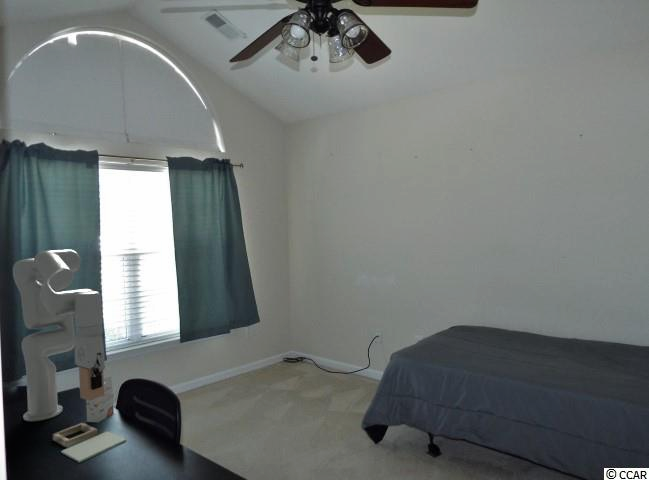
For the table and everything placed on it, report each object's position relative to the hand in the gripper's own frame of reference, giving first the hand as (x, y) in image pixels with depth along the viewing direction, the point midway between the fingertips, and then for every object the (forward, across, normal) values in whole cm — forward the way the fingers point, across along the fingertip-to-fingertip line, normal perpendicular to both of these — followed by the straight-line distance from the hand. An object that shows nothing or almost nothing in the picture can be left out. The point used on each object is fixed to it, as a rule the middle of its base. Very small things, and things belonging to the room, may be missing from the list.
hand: (91, 386), depth 138 cm
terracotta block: (+3, 0, 0) cm, 3 cm away
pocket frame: (+20, -12, 0) cm, 23 cm away
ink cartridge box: (+20, -20, +13) cm, 31 cm away
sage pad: (+20, 0, 0) cm, 20 cm away
